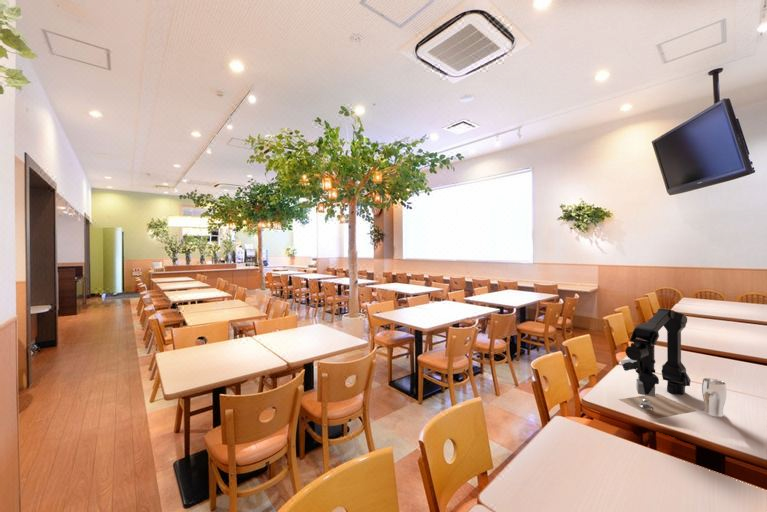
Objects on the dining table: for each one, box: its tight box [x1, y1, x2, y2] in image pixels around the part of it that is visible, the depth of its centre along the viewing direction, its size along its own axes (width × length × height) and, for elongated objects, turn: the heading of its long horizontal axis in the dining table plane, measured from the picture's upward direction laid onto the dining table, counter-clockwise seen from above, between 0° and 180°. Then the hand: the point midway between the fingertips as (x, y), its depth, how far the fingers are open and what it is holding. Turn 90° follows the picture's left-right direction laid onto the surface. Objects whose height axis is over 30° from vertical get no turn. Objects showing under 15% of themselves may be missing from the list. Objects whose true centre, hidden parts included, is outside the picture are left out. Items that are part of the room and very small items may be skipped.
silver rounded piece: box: [638, 398, 653, 410], centre depth 137 cm, size 5×5×3 cm
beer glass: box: [701, 377, 727, 418], centre depth 130 cm, size 7×7×15 cm
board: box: [618, 393, 697, 419], centre depth 138 cm, size 22×16×2 cm
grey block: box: [636, 378, 656, 397], centre depth 137 cm, size 6×6×5 cm
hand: (645, 391), depth 137 cm, fingers closed on grey block, 6 cm apart
